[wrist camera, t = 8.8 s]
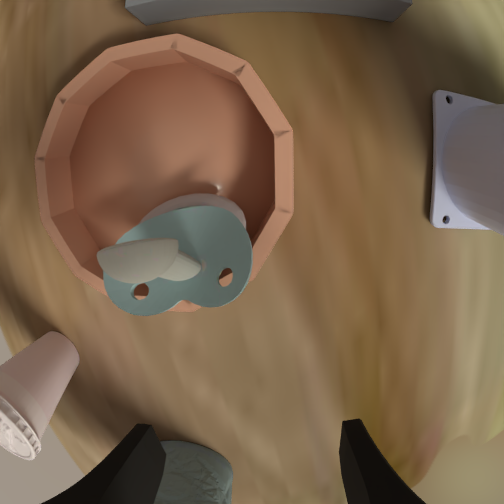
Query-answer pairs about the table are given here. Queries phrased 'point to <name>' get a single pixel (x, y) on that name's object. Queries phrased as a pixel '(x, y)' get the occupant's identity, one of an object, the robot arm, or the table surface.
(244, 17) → the table surface
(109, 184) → the bowl
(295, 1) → the gray square frame
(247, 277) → the pacifier
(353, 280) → the table surface
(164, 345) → the table surface
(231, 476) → the grey green pot
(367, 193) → the table surface
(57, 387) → the smoothie
